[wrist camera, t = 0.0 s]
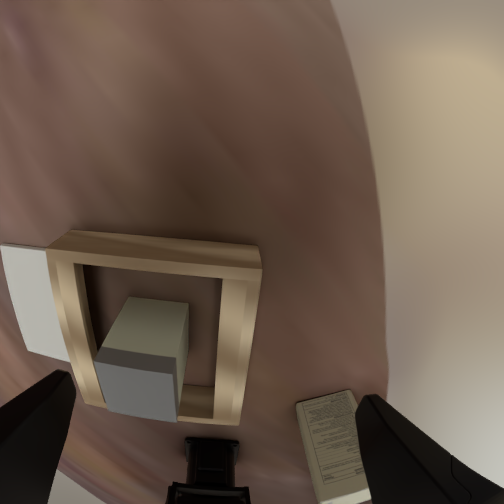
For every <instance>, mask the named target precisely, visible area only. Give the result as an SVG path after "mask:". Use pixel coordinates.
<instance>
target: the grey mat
mask: <svg viewBox="0 0 504 504" xmlns="http://www.w3.org/2000/svg"><path fill="white" fill-rule="evenodd" d="M0 249H1V254H2V260H3V265H4V270H5V274H6V279H7V283H8V287H9V291H10V295H11V299H12V303H13V306H14V310H15V313H16V317H17V320H18V323H19V326H20V329H21V332H22V335H23V338H24V341H25V344H26V347H27V349H28V351H32V352H35V353H38V354H42V355H45V356H49V357H53V358H56V359H60V360H64V361H68V362H70V359H69V356H68V353H67V349H66V346H65V342H64V339H63V335H62V331H61V328H60V324H59V320H58V316H57V311H56V307H55V302H54V298H53V293H52V288H51V283H50V277H49V271H48V265H47V258H46V251H45V248H40V247H32V246H23V245H15V244H7V243H3V244H2V245H0Z"/></svg>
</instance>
